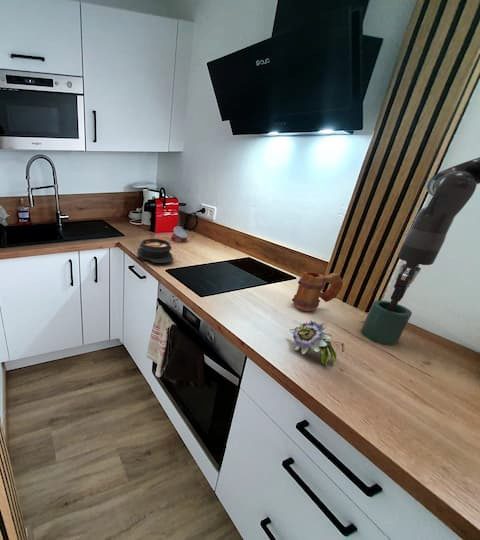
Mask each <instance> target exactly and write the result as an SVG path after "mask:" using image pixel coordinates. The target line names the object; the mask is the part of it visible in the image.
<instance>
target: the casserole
mask: <svg viewBox="0 0 480 540" xmlns="http://www.w3.org/2000/svg"><path fill="white" fill-rule="evenodd" d="M171 250H172V246H171V243H170V242H169V241H167V240H165V239H160V238H147V239H143V240H142V241H141V242H140V244H139V247H138V248H137V256H138V257H140V258H142V259H144V260H147V261H150V262H152V263H155V264H166V263H171V262H173V261H174V258H173V254H172V253H171V252H170V251H171Z"/></svg>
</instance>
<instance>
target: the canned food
mask: <svg viewBox="0 0 480 540" xmlns="http://www.w3.org/2000/svg"><path fill="white" fill-rule="evenodd" d="M172 231H173V234H171V238H170V240H171V241H172V242H174V243H178V244H179V243H181V244H183V243H186V242H187V241H188V233H187V231H186V230H185V229H184V228H183V227H182V226H180V225H176V226H175V227H174V228H173V230H172Z"/></svg>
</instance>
